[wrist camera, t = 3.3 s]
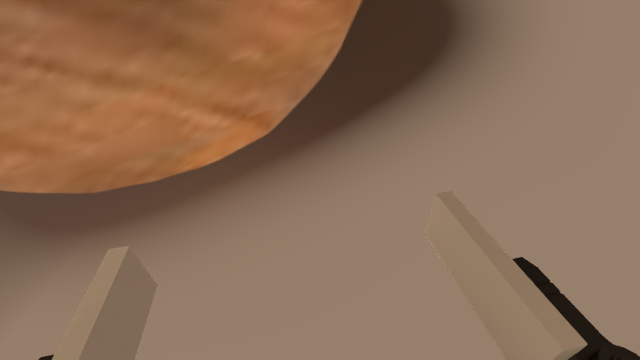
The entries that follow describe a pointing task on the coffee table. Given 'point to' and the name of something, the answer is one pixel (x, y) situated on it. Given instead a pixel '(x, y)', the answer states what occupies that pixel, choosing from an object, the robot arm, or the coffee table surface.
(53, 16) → the coffee table surface
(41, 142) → the coffee table surface
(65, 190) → the coffee table surface
